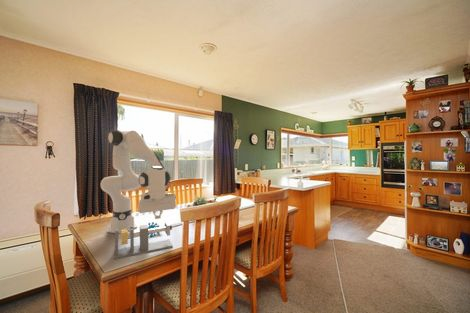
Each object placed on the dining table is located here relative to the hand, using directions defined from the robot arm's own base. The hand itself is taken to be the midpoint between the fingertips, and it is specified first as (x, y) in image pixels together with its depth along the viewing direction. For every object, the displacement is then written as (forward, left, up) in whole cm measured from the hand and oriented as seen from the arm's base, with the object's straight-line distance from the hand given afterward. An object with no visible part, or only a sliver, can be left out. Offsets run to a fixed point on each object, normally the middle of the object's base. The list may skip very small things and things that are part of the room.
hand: (157, 218), depth 121 cm
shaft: (-3, -6, -11) cm, 13 cm away
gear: (-24, 0, -18) cm, 30 cm away
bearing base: (-3, -7, -18) cm, 19 cm away
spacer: (-3, -17, -12) cm, 21 cm away
